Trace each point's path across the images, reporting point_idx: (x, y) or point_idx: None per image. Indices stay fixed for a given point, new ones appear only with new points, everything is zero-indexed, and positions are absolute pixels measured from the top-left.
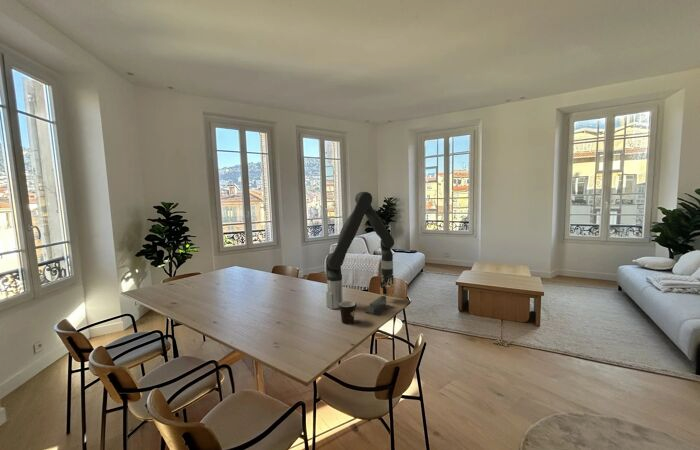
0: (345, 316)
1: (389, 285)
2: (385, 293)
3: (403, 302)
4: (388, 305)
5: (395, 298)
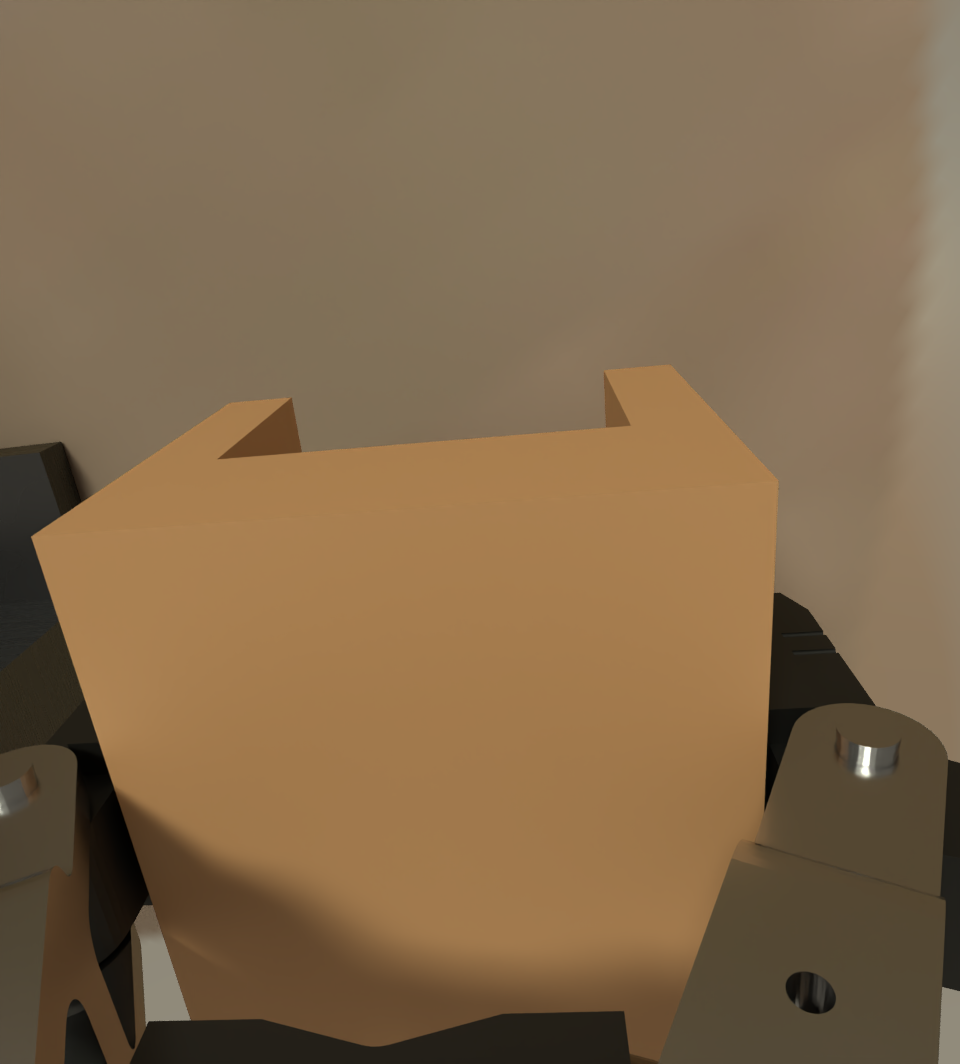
0: None
1: (730, 858)
2: None
3: None
4: None
5: (821, 600)
